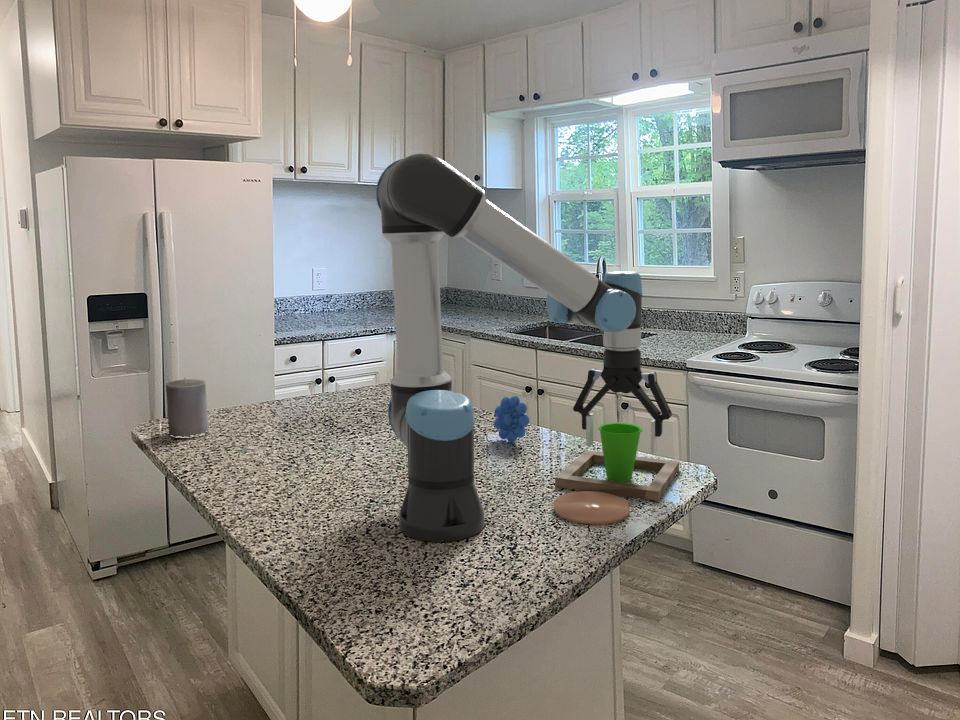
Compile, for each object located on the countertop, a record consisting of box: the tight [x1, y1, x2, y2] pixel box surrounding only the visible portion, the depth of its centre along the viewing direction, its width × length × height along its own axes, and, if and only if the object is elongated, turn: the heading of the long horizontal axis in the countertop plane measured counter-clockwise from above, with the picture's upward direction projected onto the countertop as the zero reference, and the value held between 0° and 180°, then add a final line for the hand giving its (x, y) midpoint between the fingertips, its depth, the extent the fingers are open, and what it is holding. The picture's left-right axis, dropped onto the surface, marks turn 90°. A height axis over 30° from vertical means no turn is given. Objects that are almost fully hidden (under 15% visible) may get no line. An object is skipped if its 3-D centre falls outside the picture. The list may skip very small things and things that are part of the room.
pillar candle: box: [165, 377, 209, 436], centre depth 197 cm, size 10×10×15 cm
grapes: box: [493, 395, 530, 444], centre depth 188 cm, size 12×7×12 cm, turn 42°
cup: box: [597, 422, 643, 483], centre depth 160 cm, size 9×9×11 cm
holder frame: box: [554, 450, 680, 502], centre depth 161 cm, size 21×21×2 cm
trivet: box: [553, 490, 630, 525], centre depth 143 cm, size 14×14×1 cm
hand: (621, 448), depth 160 cm, fingers open, 13 cm apart
